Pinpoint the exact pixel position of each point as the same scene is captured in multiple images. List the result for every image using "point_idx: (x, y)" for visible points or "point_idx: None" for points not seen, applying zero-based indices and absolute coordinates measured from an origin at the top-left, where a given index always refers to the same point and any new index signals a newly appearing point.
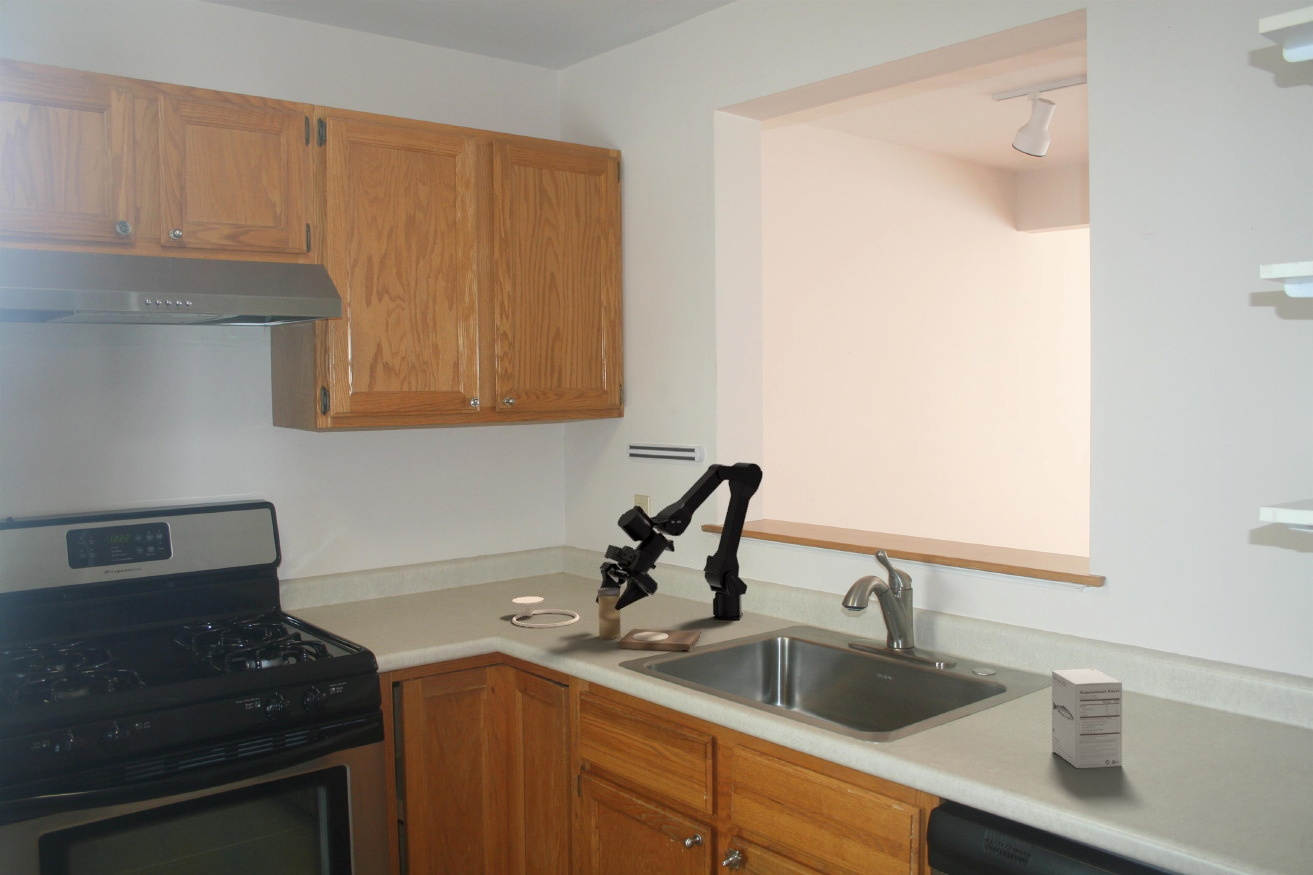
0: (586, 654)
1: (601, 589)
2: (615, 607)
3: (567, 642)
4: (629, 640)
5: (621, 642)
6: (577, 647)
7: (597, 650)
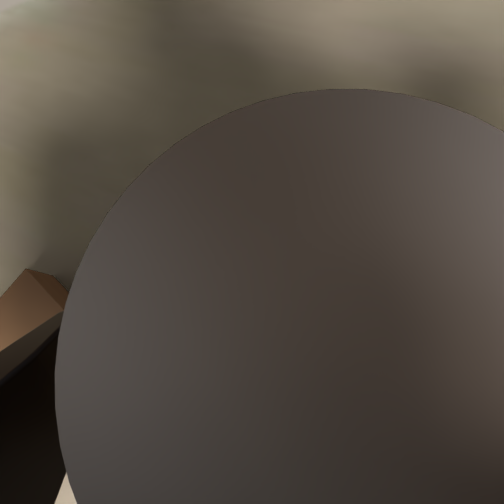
0: (51, 82)
1: (447, 200)
2: (61, 313)
3: (339, 58)
4: (4, 337)
5: (18, 282)
6: (198, 79)
7: (82, 154)
